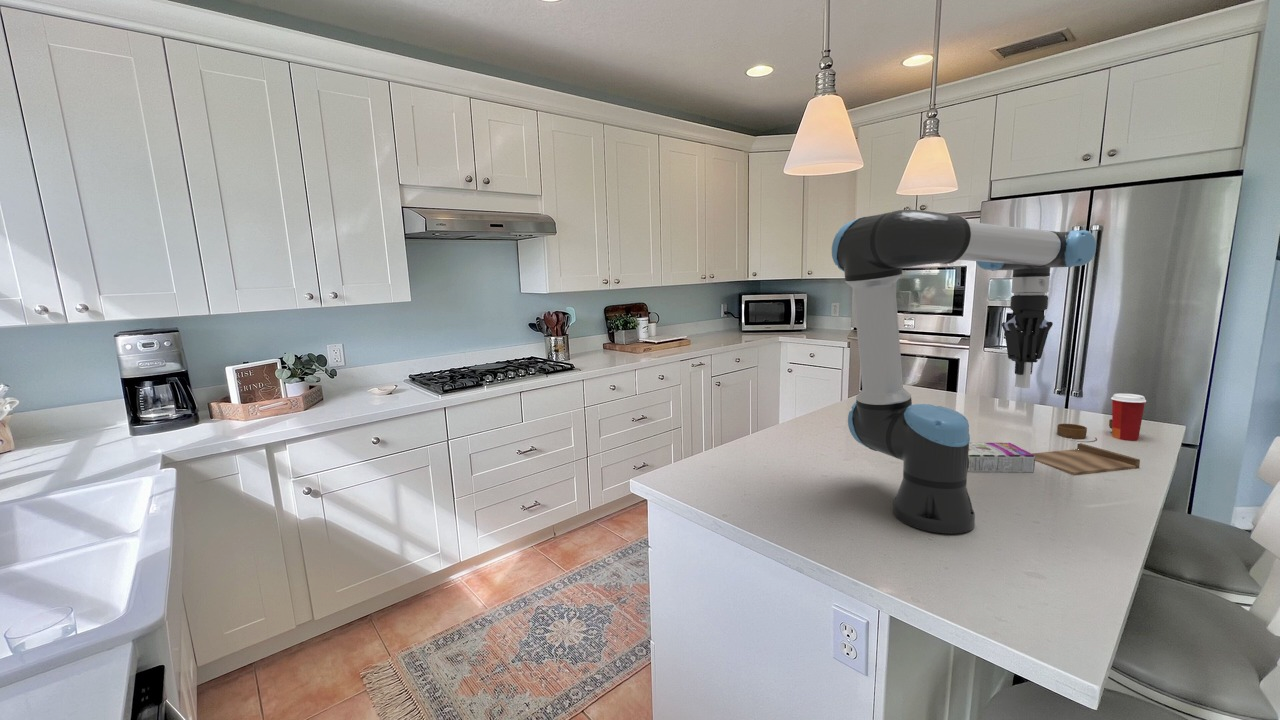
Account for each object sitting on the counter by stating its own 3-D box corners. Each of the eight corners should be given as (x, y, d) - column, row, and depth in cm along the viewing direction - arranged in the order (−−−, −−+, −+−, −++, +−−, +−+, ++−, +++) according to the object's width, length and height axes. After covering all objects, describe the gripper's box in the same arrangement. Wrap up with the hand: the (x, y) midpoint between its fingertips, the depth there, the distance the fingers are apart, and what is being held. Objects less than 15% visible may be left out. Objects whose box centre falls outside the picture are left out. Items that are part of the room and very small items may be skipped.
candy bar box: (1009, 459, 143) (946, 458, 145) (1010, 442, 142) (947, 441, 144) (1034, 474, 132) (966, 472, 134) (1036, 455, 131) (967, 454, 133)
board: (1073, 475, 130) (1074, 466, 129) (1020, 457, 144) (1020, 449, 144) (1139, 468, 133) (1140, 459, 133) (1080, 451, 148) (1081, 443, 148)
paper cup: (1148, 442, 154) (1152, 396, 152) (1134, 446, 151) (1138, 399, 149) (1115, 436, 161) (1119, 392, 159) (1101, 439, 158) (1105, 394, 156)
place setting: (1038, 432, 170) (1039, 415, 169) (1116, 437, 162) (1117, 419, 161) (1056, 447, 154) (1058, 428, 153) (1144, 454, 146) (1146, 433, 145)
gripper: (1020, 294, 125) (1013, 390, 128) (1066, 294, 127) (1057, 388, 130) (994, 294, 132) (987, 385, 135) (1037, 294, 135) (1030, 383, 138)
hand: (1022, 387), depth 133 cm, fingers closed
